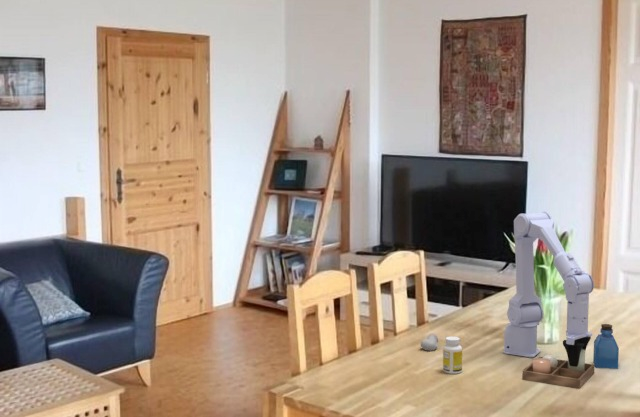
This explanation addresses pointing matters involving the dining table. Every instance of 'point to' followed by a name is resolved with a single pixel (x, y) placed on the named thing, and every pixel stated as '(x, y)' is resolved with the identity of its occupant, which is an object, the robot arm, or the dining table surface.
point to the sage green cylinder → (581, 362)
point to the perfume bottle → (606, 349)
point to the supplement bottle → (452, 356)
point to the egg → (552, 360)
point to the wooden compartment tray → (560, 375)
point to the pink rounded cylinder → (541, 365)
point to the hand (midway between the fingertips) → (576, 363)
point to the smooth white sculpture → (430, 343)
